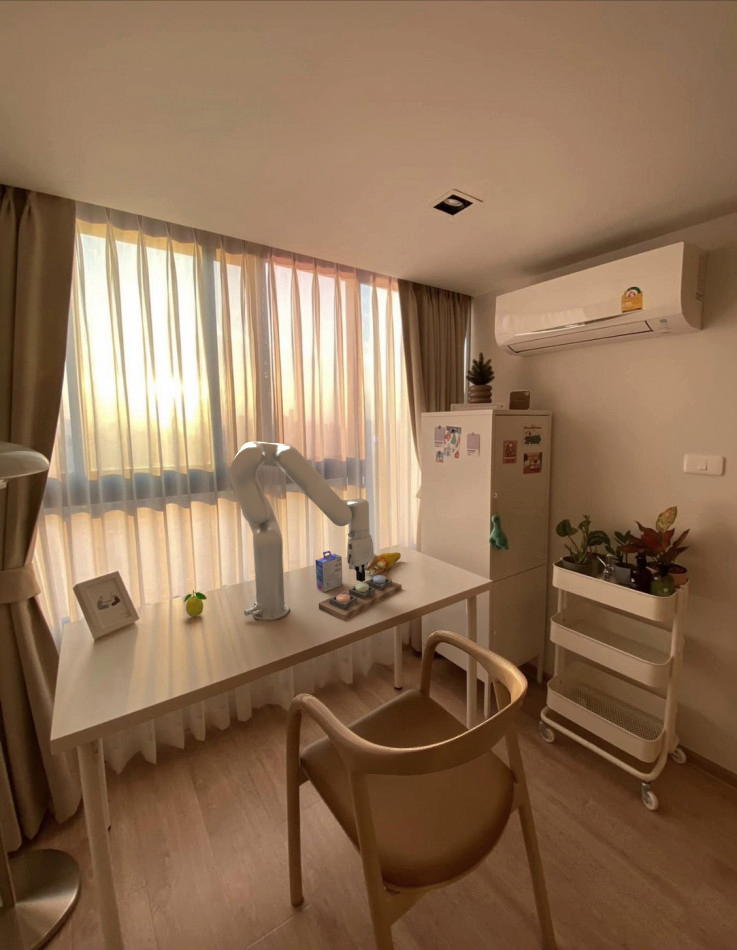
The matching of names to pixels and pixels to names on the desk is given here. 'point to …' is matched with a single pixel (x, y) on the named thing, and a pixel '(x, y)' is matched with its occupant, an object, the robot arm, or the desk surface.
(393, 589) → the button panel
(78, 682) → the desk surface
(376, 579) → the button slate
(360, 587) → the button sage
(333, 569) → the ink cartridge box
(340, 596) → the button terracotta
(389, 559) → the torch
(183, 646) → the desk surface
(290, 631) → the desk surface
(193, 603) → the lemon
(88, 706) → the desk surface
